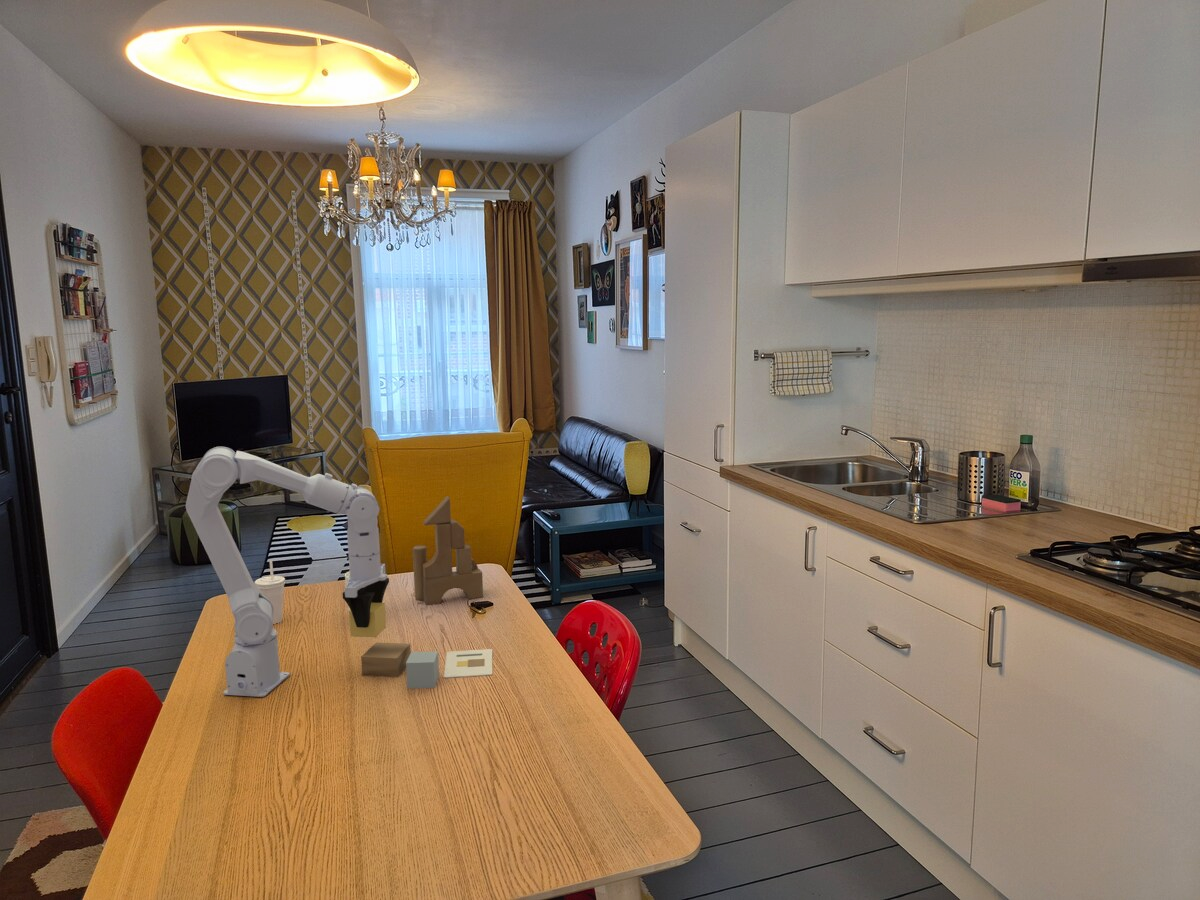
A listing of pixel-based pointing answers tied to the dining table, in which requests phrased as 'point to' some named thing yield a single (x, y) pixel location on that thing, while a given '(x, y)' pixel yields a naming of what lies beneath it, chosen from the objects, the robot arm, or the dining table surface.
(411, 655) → the slate brick
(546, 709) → the dining table surface
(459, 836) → the dining table surface
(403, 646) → the walnut base
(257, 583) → the smoothie
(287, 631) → the dining table surface
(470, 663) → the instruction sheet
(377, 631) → the mustard brick
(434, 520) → the wooden toy
